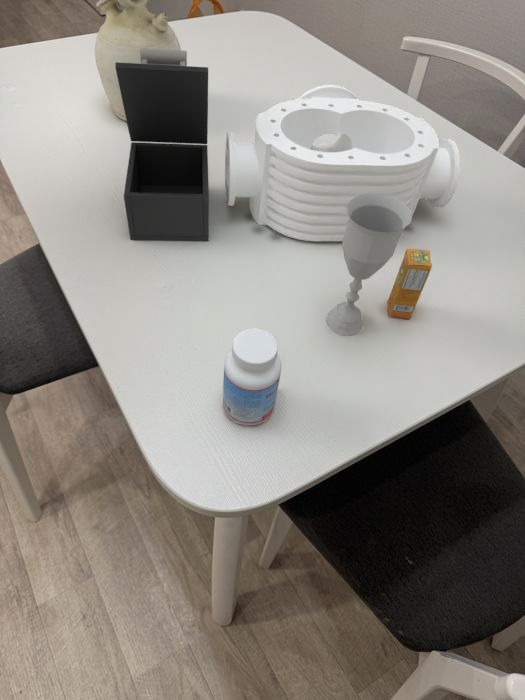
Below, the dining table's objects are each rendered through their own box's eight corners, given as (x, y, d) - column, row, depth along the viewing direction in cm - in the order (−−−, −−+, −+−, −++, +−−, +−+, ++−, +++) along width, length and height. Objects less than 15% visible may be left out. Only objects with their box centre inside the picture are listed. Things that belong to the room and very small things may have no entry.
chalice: (333, 346, 67) (367, 238, 53) (309, 310, 71) (335, 199, 56) (380, 332, 69) (424, 224, 55) (354, 297, 73) (390, 188, 59)
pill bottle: (274, 428, 59) (286, 371, 50) (220, 426, 58) (223, 367, 49) (274, 385, 62) (285, 324, 54) (223, 382, 62) (226, 320, 53)
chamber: (208, 241, 78) (208, 197, 72) (130, 240, 76) (123, 195, 70) (207, 188, 86) (207, 144, 80) (136, 186, 85) (131, 141, 79)
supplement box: (384, 300, 73) (406, 245, 65) (408, 303, 73) (433, 249, 65) (385, 317, 71) (408, 263, 63) (410, 320, 71) (436, 267, 63)
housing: (229, 244, 78) (233, 160, 67) (221, 161, 91) (223, 80, 80) (445, 244, 82) (483, 165, 71) (408, 165, 96) (434, 88, 85)
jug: (88, 103, 100) (59, -56, 80) (155, 84, 107) (144, -67, 87) (132, 138, 93) (112, -25, 74) (200, 115, 100) (198, -39, 81)
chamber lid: (208, 72, 66) (207, 39, 67) (115, 67, 64) (116, 34, 66) (207, 144, 79) (207, 116, 81) (130, 141, 78) (131, 113, 79)
